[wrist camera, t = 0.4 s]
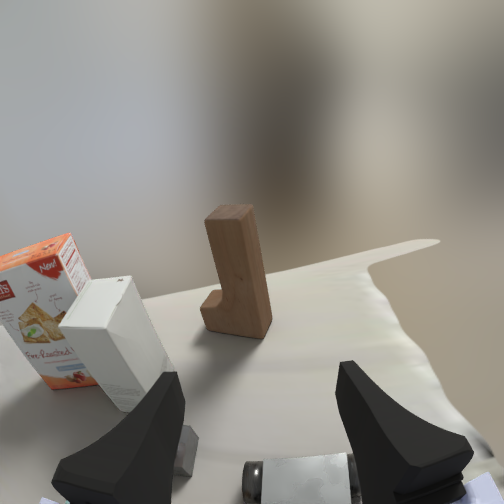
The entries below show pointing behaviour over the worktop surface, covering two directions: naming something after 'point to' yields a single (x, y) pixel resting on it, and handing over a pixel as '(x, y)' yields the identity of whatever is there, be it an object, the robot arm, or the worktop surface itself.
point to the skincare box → (116, 340)
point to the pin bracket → (186, 452)
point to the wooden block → (237, 274)
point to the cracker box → (44, 307)
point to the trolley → (301, 480)
